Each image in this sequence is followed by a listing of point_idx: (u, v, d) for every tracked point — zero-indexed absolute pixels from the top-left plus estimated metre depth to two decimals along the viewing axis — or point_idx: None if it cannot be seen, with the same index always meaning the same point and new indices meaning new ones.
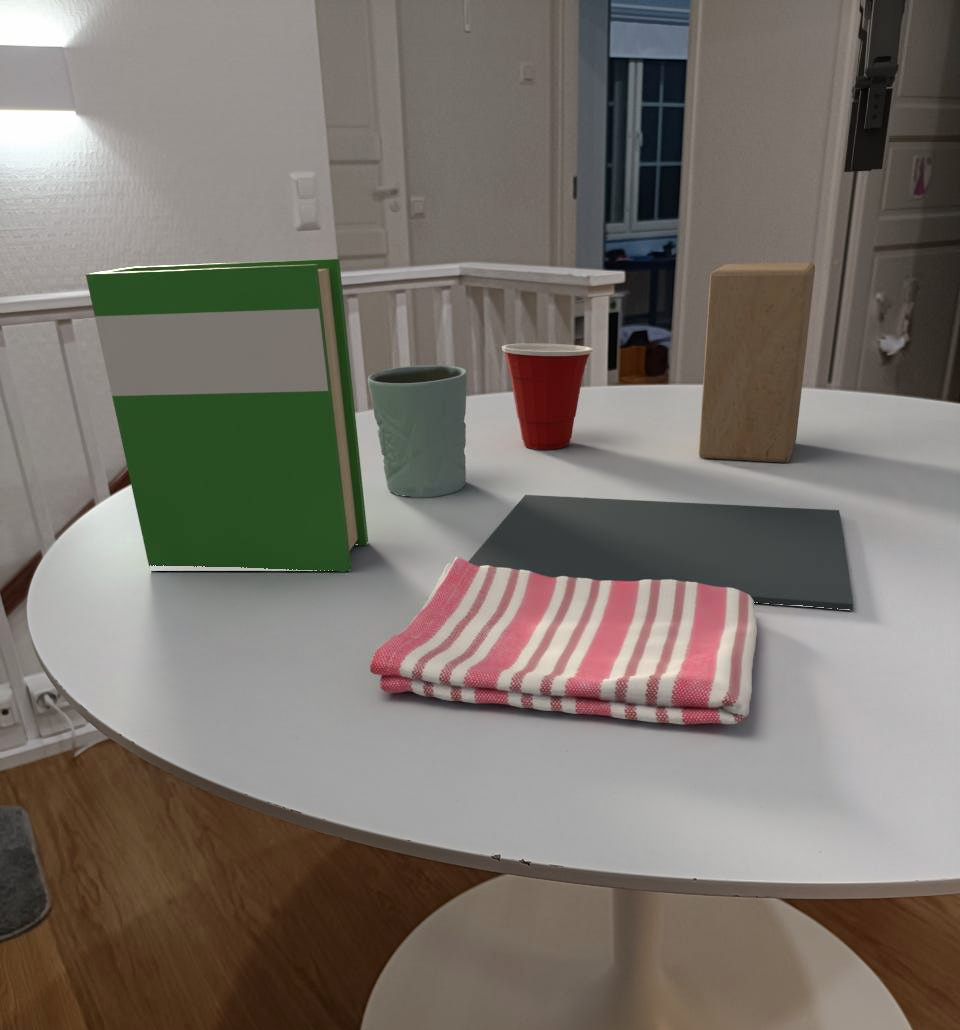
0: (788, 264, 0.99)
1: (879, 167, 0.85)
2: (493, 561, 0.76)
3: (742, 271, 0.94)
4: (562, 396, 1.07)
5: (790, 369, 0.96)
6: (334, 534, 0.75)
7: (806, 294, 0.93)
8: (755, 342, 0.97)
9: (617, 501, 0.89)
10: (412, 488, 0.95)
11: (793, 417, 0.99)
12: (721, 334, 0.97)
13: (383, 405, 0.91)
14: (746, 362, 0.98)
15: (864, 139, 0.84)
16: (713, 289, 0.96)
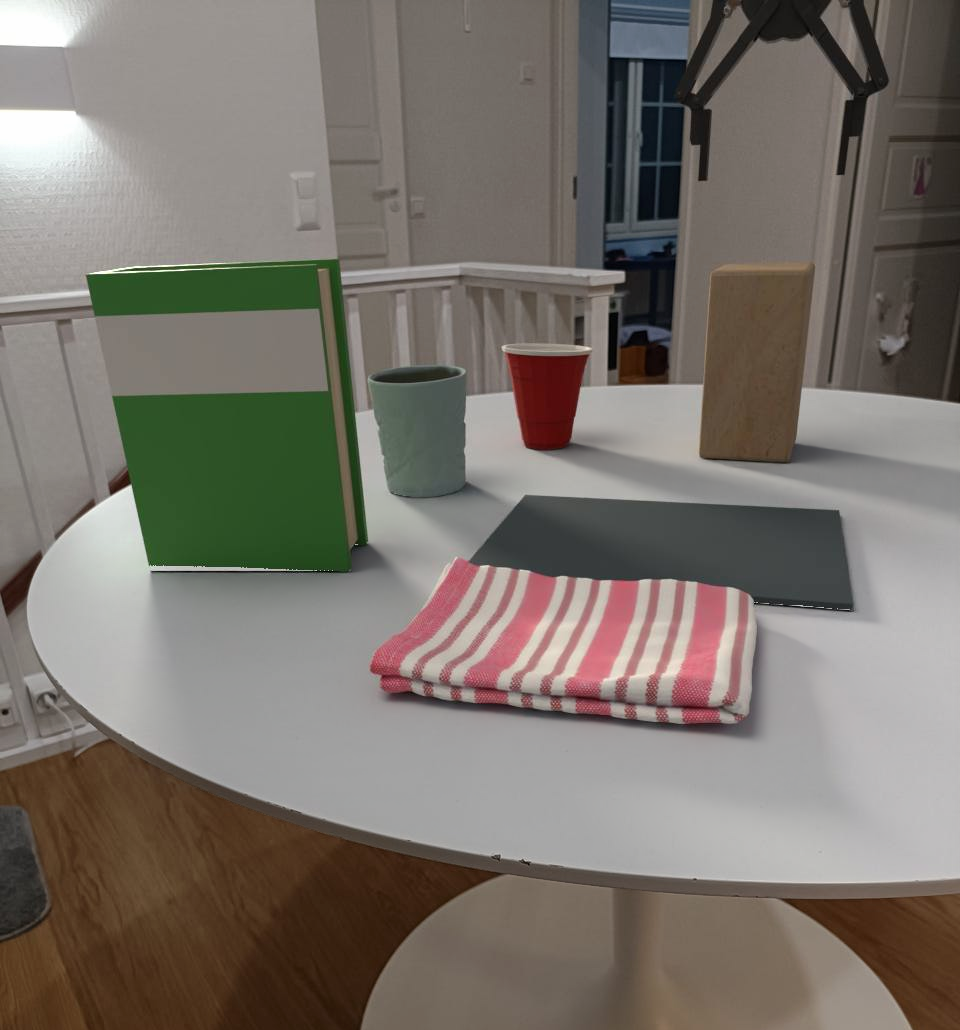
0: (788, 264, 0.99)
1: (698, 179, 0.95)
2: (493, 561, 0.76)
3: (742, 271, 0.94)
4: (562, 396, 1.07)
5: (790, 369, 0.96)
6: (334, 534, 0.75)
7: (806, 294, 0.93)
8: (755, 342, 0.97)
9: (617, 501, 0.89)
10: (412, 488, 0.95)
11: (793, 417, 0.99)
12: (721, 334, 0.97)
13: (383, 405, 0.91)
14: (746, 362, 0.98)
15: None
16: (713, 289, 0.96)
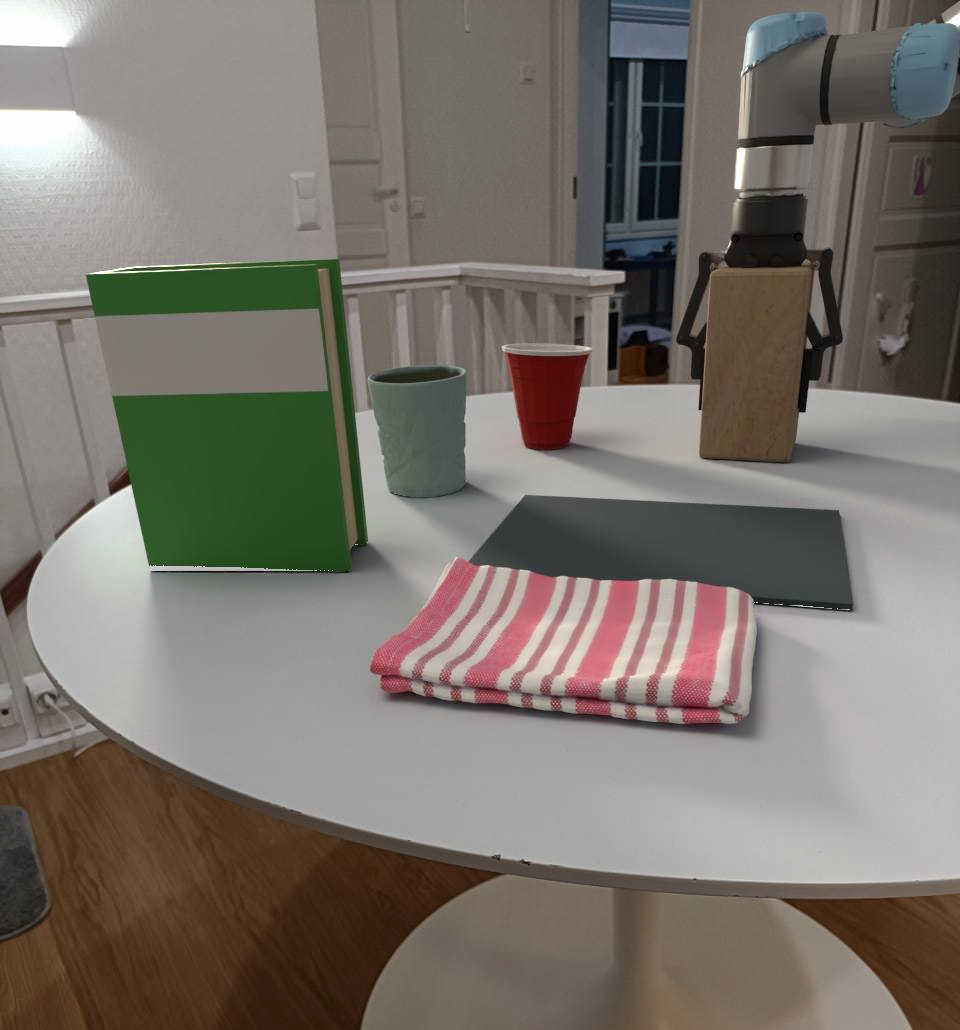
0: None
1: None
2: (493, 561, 0.76)
3: (742, 271, 0.94)
4: (562, 396, 1.07)
5: (790, 369, 0.96)
6: (334, 534, 0.75)
7: (806, 294, 0.93)
8: (755, 342, 0.97)
9: (617, 501, 0.89)
10: (412, 488, 0.95)
11: (793, 417, 0.99)
12: (721, 334, 0.97)
13: (383, 405, 0.91)
14: (746, 362, 0.98)
15: None
16: (713, 289, 0.96)
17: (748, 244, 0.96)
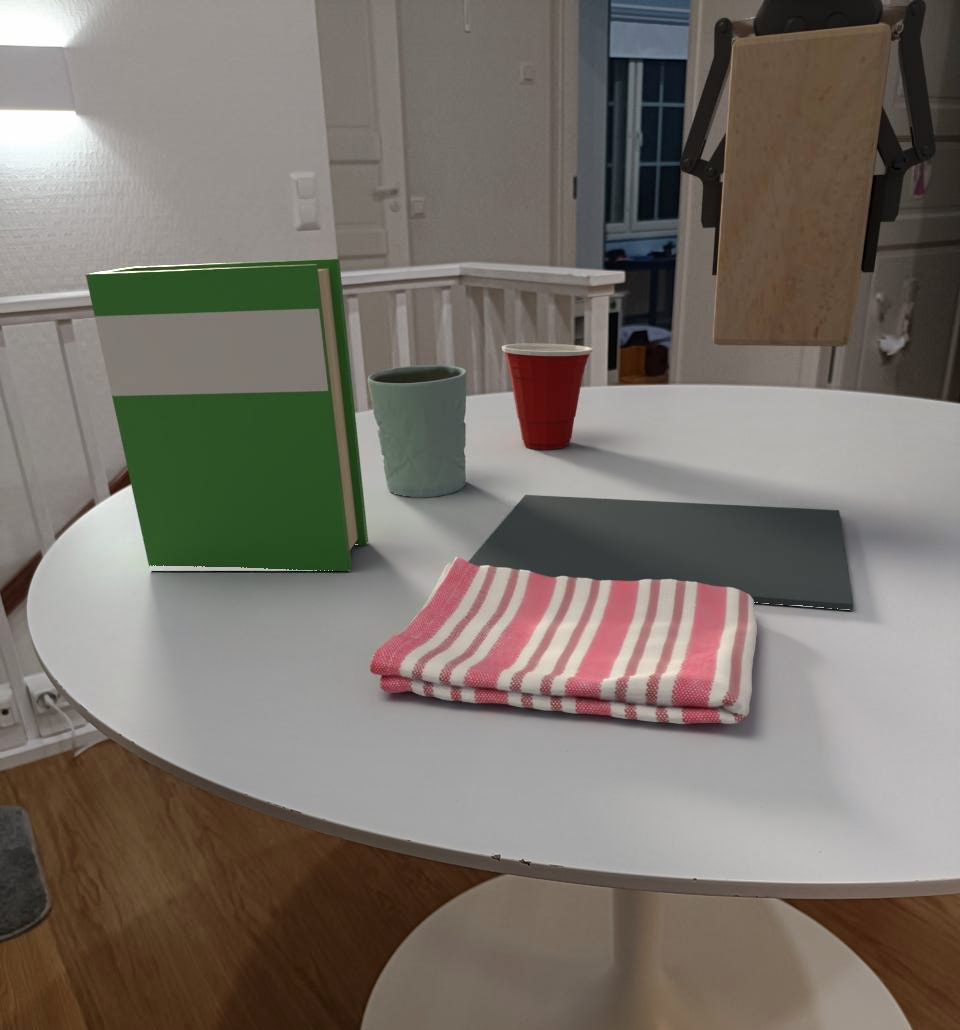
0: None
1: (712, 273, 0.71)
2: (493, 561, 0.76)
3: (783, 35, 0.60)
4: (562, 396, 1.07)
5: (855, 193, 0.62)
6: (334, 534, 0.75)
7: (884, 66, 0.59)
8: (801, 152, 0.63)
9: (617, 501, 0.89)
10: (412, 488, 0.95)
11: (858, 273, 0.65)
12: (748, 143, 0.64)
13: (383, 405, 0.91)
14: (787, 186, 0.64)
15: None
16: (737, 69, 0.62)
17: (791, 0, 0.62)
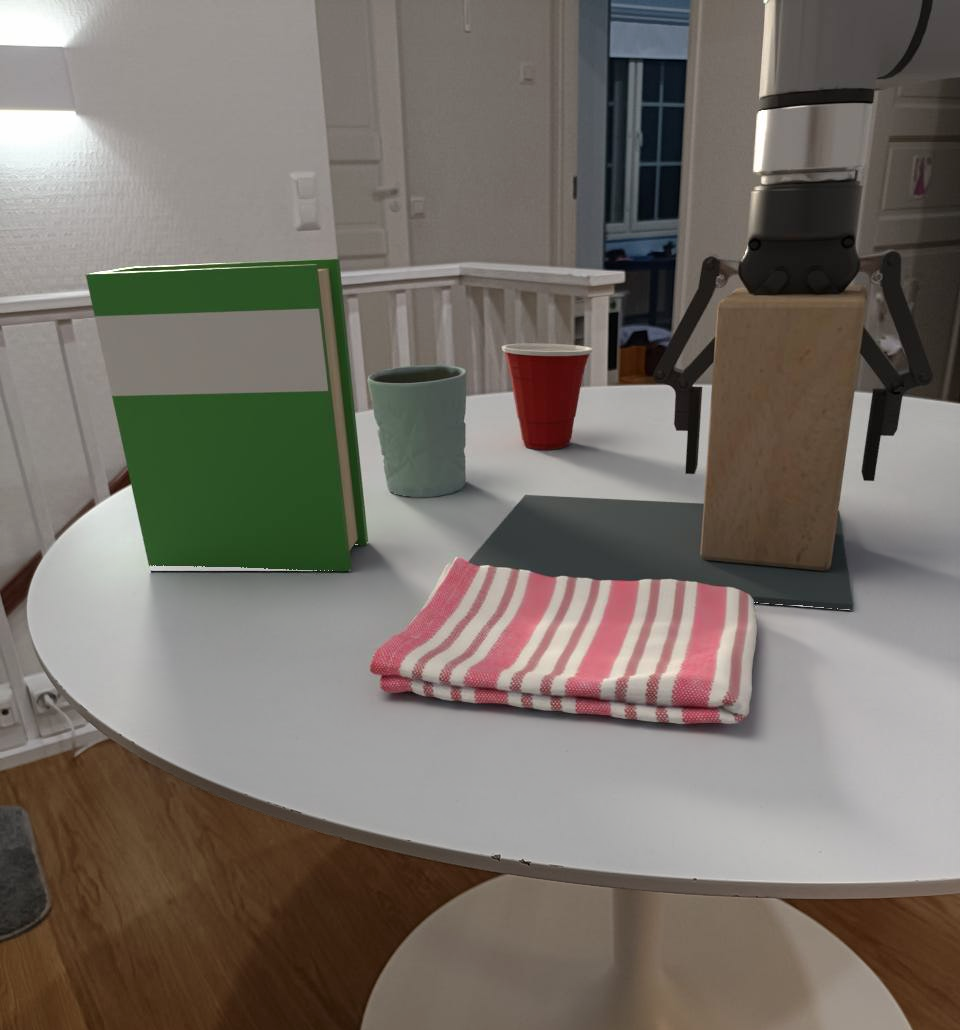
0: None
1: None
2: (493, 561, 0.76)
3: (765, 301, 0.64)
4: (562, 396, 1.07)
5: (834, 442, 0.66)
6: (334, 534, 0.75)
7: (860, 335, 0.63)
8: (782, 403, 0.66)
9: (617, 501, 0.89)
10: (412, 488, 0.95)
11: (837, 509, 0.68)
12: (733, 391, 0.67)
13: (383, 405, 0.91)
14: (770, 431, 0.68)
15: None
16: (722, 327, 0.66)
17: (773, 252, 0.66)
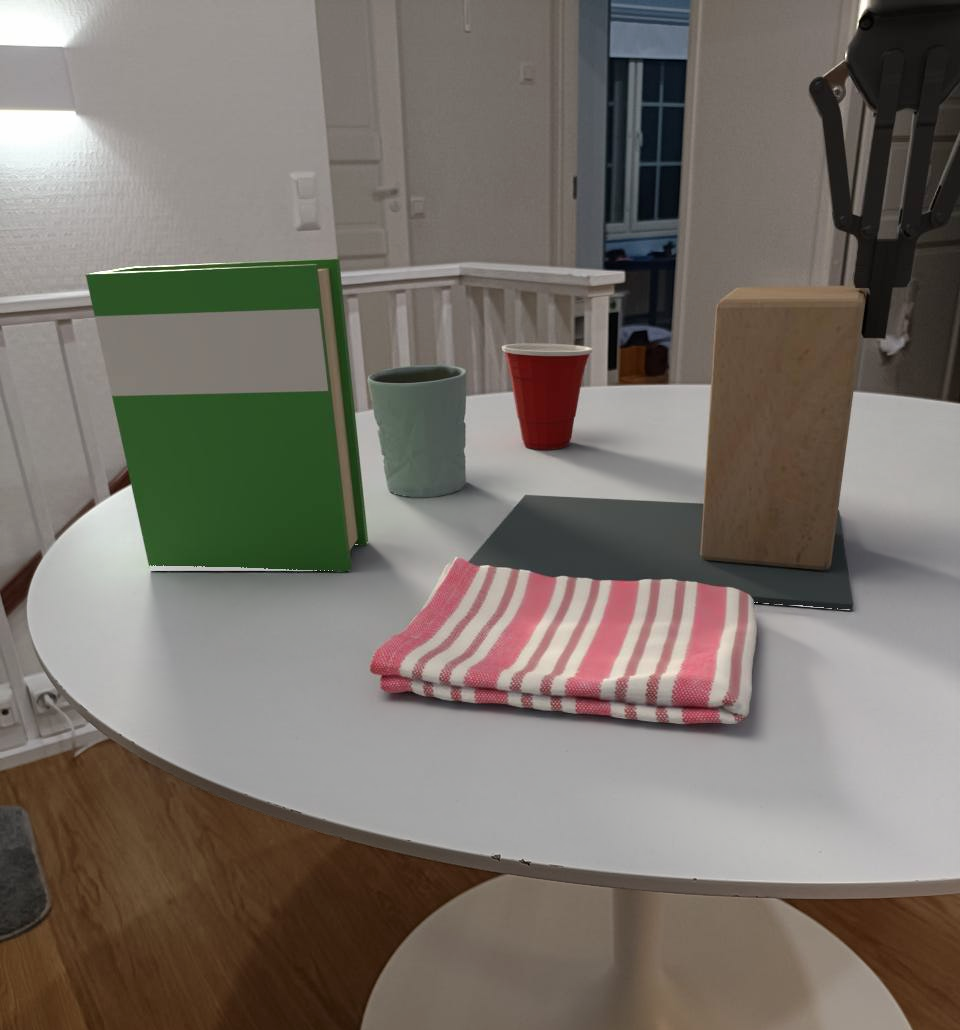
0: (828, 288, 0.69)
1: (863, 335, 0.66)
2: (493, 561, 0.76)
3: (763, 301, 0.64)
4: (562, 396, 1.07)
5: (833, 442, 0.66)
6: (334, 534, 0.75)
7: (858, 335, 0.63)
8: (782, 403, 0.66)
9: (617, 501, 0.89)
10: (412, 488, 0.95)
11: (836, 509, 0.68)
12: (732, 391, 0.67)
13: (383, 405, 0.91)
14: (769, 431, 0.68)
15: (866, 298, 0.67)
16: (721, 327, 0.66)
17: (888, 31, 0.58)
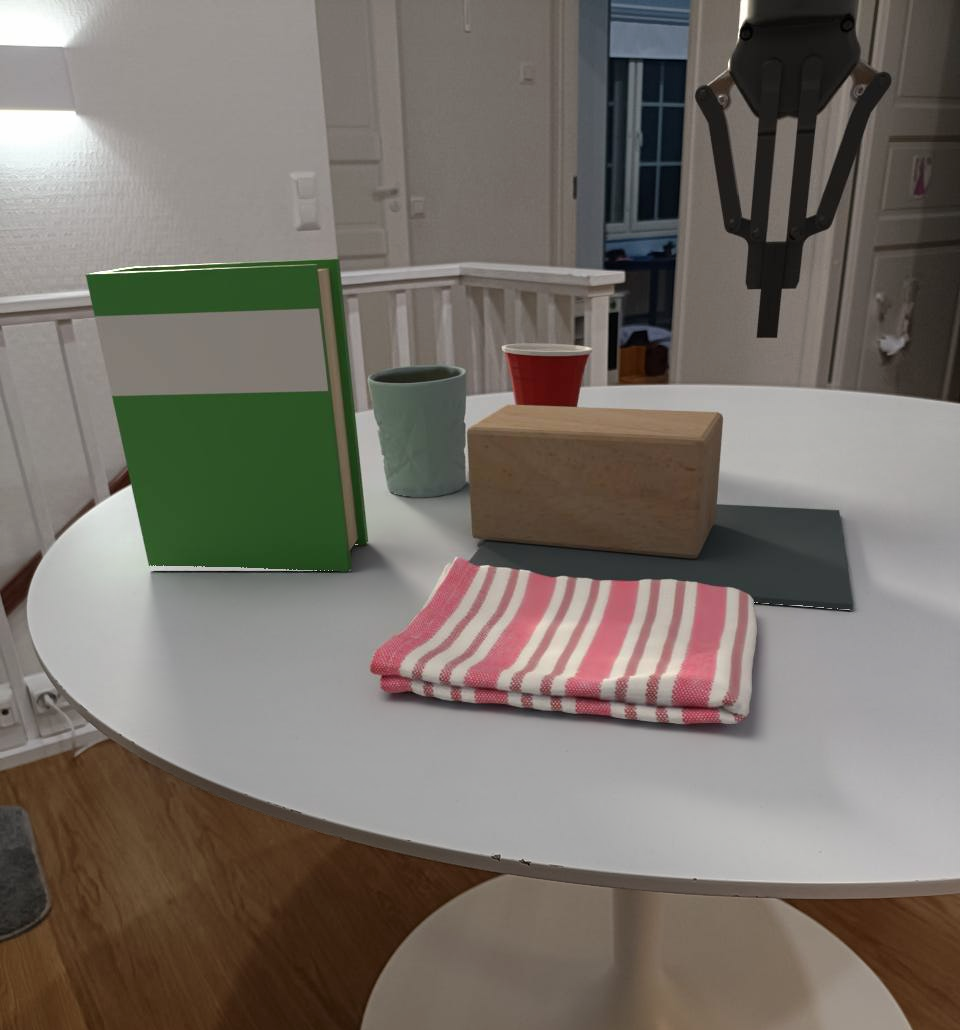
0: None
1: None
2: (493, 561, 0.76)
3: None
4: (562, 396, 1.07)
5: (577, 444, 0.73)
6: (334, 534, 0.75)
7: (492, 429, 0.76)
8: (546, 488, 0.76)
9: None
10: (412, 488, 0.95)
11: (641, 436, 0.72)
12: (538, 528, 0.78)
13: (383, 405, 0.91)
14: (569, 498, 0.76)
15: None
16: (489, 536, 0.80)
17: (766, 41, 0.61)
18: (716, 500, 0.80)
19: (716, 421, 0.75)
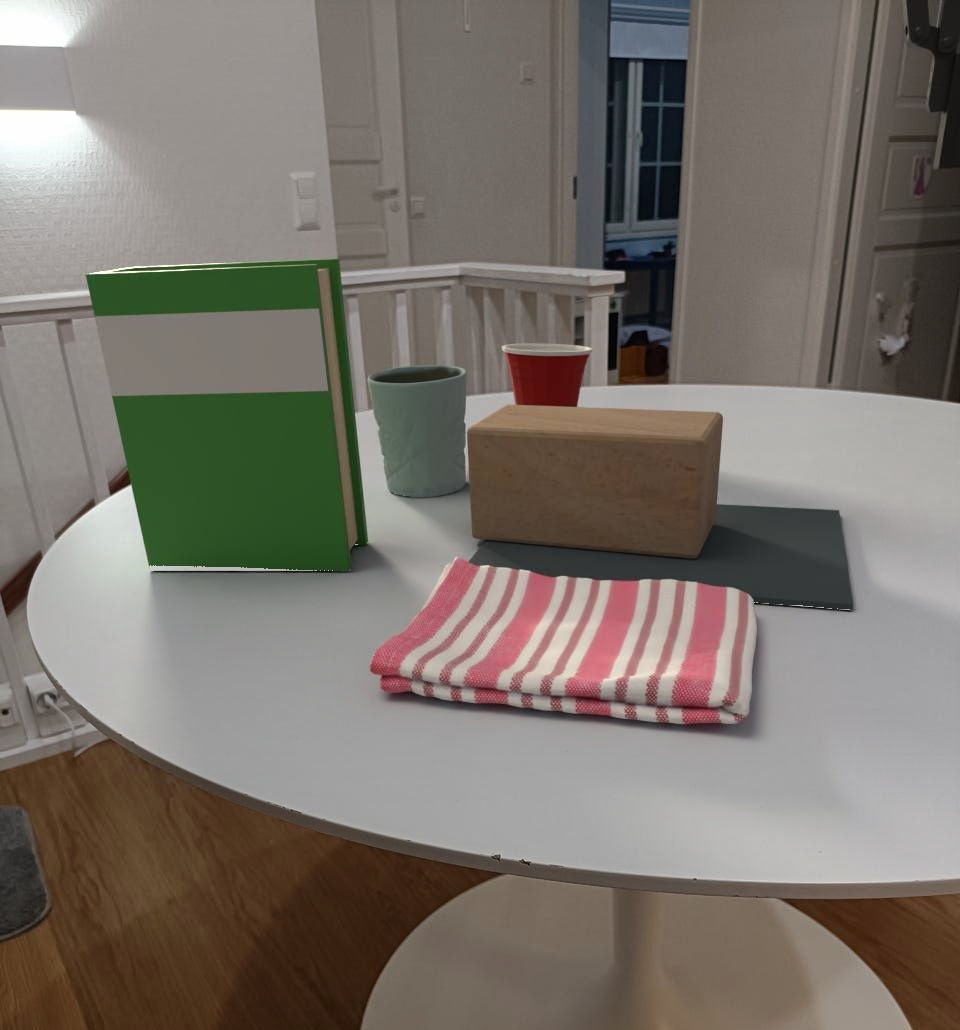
0: None
1: (938, 166, 0.61)
2: (493, 561, 0.76)
3: None
4: (562, 396, 1.07)
5: (577, 444, 0.73)
6: (334, 534, 0.75)
7: (492, 429, 0.76)
8: (546, 488, 0.76)
9: None
10: (412, 488, 0.95)
11: (641, 436, 0.72)
12: (538, 528, 0.78)
13: (383, 405, 0.91)
14: (569, 498, 0.76)
15: (941, 127, 0.61)
16: (489, 536, 0.80)
17: None
18: (716, 500, 0.80)
19: (716, 421, 0.75)
